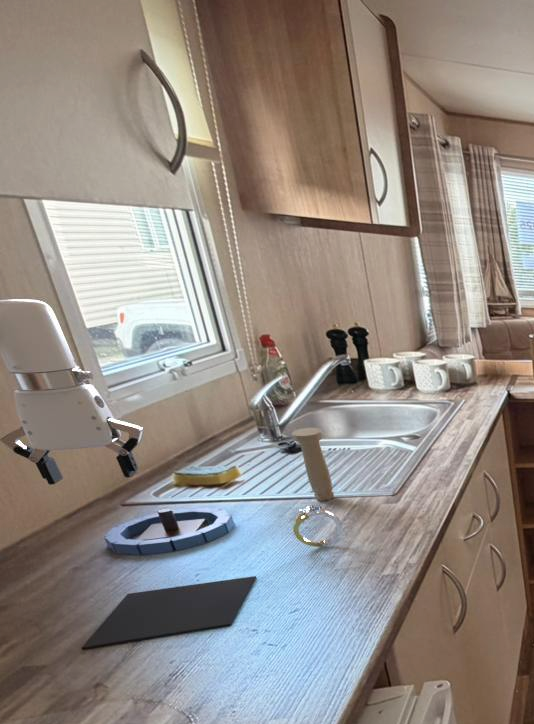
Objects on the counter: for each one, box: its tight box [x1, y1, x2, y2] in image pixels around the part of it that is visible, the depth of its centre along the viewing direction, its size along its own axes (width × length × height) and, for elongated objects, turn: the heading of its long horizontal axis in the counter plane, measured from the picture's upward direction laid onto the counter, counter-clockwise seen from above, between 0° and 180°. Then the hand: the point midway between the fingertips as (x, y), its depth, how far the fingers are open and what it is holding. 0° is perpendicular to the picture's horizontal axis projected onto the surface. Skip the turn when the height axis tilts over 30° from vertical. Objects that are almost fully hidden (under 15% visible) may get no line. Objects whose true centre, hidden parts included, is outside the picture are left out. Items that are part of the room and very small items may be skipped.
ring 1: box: [103, 507, 235, 556], centre depth 119 cm, size 17×17×2 cm
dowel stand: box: [136, 507, 209, 540], centre depth 118 cm, size 8×8×5 cm
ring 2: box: [292, 504, 343, 548], centre depth 116 cm, size 7×3×8 cm, turn 119°
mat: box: [81, 575, 257, 651], centre depth 97 cm, size 16×16×1 cm
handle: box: [291, 427, 335, 502], centre depth 135 cm, size 5×6×15 cm
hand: (94, 478), depth 111 cm, fingers open, 9 cm apart
